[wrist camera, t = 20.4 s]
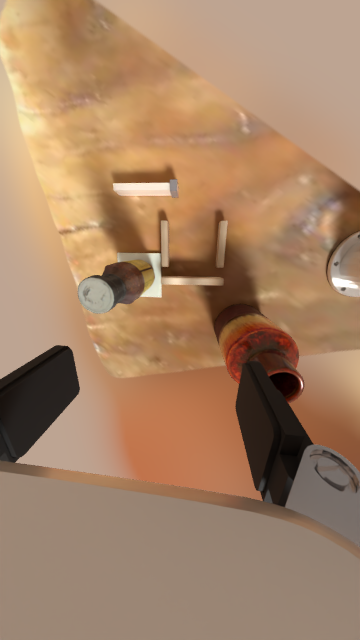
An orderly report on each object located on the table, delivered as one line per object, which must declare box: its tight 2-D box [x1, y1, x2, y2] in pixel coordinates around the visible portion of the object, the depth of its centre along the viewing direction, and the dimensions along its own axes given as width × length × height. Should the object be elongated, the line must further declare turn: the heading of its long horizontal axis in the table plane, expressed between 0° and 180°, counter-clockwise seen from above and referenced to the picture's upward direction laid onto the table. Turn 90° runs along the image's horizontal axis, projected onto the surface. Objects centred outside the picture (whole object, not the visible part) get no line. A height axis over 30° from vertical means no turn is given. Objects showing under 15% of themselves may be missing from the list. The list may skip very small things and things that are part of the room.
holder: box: [161, 221, 228, 285], centre depth 34 cm, size 12×11×4 cm
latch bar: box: [113, 179, 178, 197], centre depth 31 cm, size 11×2×3 cm, turn 89°
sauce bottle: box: [78, 260, 155, 314], centre depth 28 cm, size 7×6×20 cm
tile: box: [117, 253, 162, 297], centre depth 37 cm, size 9×9×1 cm
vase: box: [215, 304, 304, 403], centre depth 30 cm, size 11×11×20 cm
